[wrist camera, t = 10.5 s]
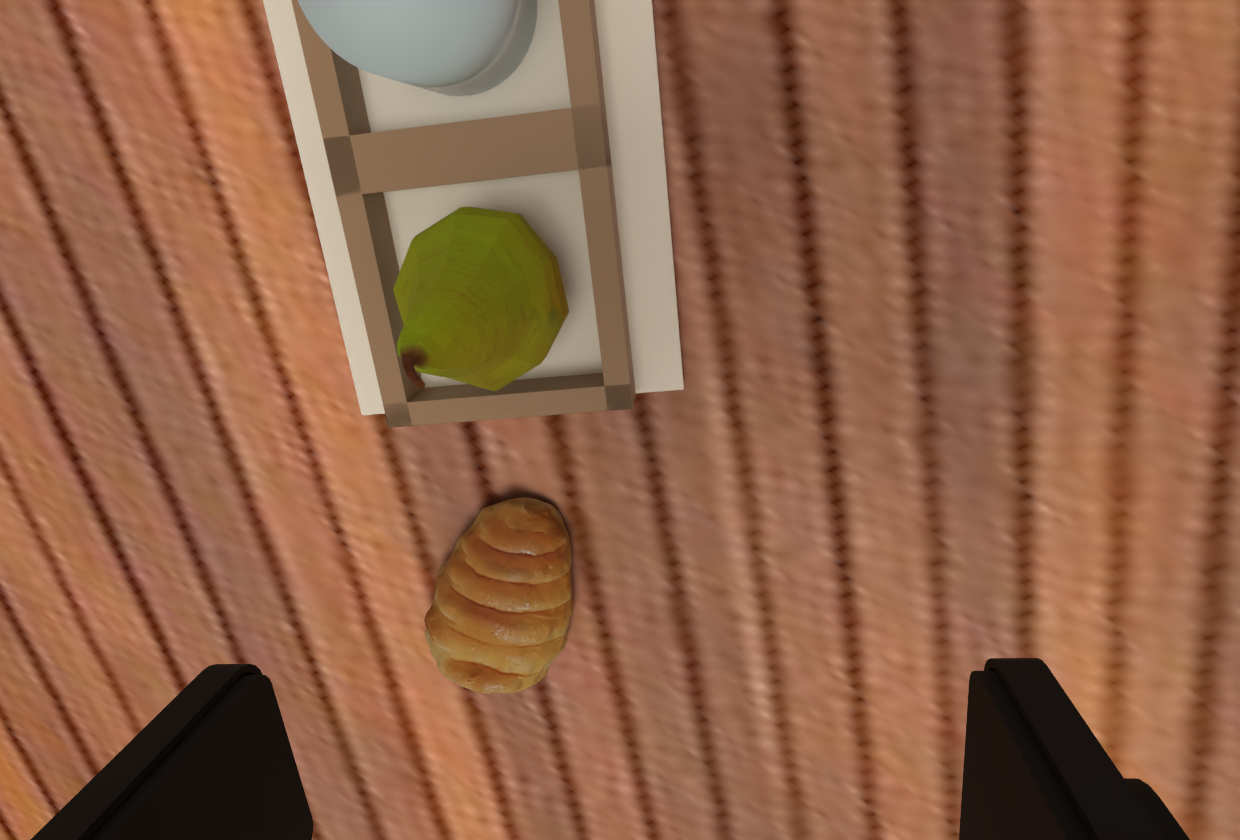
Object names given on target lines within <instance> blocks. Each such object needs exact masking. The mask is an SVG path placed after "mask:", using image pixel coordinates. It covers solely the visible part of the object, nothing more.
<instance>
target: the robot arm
mask: <svg viewBox="0 0 1240 840" xmlns="http://www.w3.org/2000/svg"><path fill="white" fill-rule="evenodd" d="M312 834H313V820H312V816H311V812H310V809H309V806H308V802H307V799H306V796H305V792H304V789H303V786H302V782H301V779H300V776H299V772H298V769H297V766H296V763H295V759H294V756H293V753H292V749H291V746H290V743H289V739H288V736H287V733H286V729H285V726H284V723H283V719H282V716H281V713H280V709H279V706H278V703H277V700H276V696H275V693H274V690H273V686H272V683H271V681H270V679H269V678H268V677H267V676H265V675H262V673H261V671H260V669H259V668H258V667H257V666H256V665H252V664H215V665H211V666H208V667H207V668H206V669H204V670H203V671H202V672H201V673H200V674H199V675H198V676H197V677H196V678H195V679H194V680H193V681H192V682H191V683H190V684H189V685H188V686H187V687H186V688H185V689H184V690H182V691H181V692H180V693H179V694H178V695H177V696H176V697H175V698H174V699H173V700H172V701H171V702H170V703H169V704H168V705H167V706H166V707H165V708H164V709H163V710H162V711H161V712H160V713H159V714H158V715H157V716H156V717H155V718H154V719H153V720H152V721H151V722H150V723H149V724H148V725H147V726H146V727H145V728H144V729H143V730H142V731H141V732H140V733H139V734H138V735H137V736H136V737H135V738H134V739H133V740H132V741H131V742H130V743H129V744H128V745H127V746H125V747H124V748H123V749H122V750H121V751H120V752H119V753H118V754H117V755H116V756H115V757H114V758H113V759H112V760H111V761H110V762H109V763H108V764H107V765H106V766H105V767H104V768H103V769H102V770H101V771H100V772H99V773H98V774H97V775H96V776H95V777H94V778H93V779H92V780H91V781H90V782H89V783H88V784H87V785H86V786H85V787H84V788H83V789H82V790H81V791H80V792H79V793H78V794H77V795H76V796H75V797H74V798H73V799H72V800H71V801H70V802H68V803H67V804H66V805H65V806H64V807H63V808H62V809H61V810H60V811H59V812H58V813H57V814H56V815H55V816H54V817H53V818H52V819H51V820H50V821H49V822H48V823H47V824H46V825H45V826H44V827H43V828H42V829H41V830H40V831H39V832H38V833H37V834H36V835H35V836H34V837H33V838H32V839H31V840H311V839H312ZM959 840H1190V839H1189V838H1188V836H1187V835H1186V834H1185V832H1184V831H1183V829H1182V828H1181V827H1180V825H1179V824H1178V822H1177V821H1176V820H1175V818H1174V817H1173V815H1172V814H1171V813H1170V811H1169V810H1168V808H1167V807H1166V806H1165V804H1164V803H1163V802H1162V800H1161V799H1160V797H1159V796H1158V795H1157V794H1156V793H1155V792H1154V791H1153V789H1152V788H1151V787H1150V786H1149V785H1148V784H1146V783H1145V782H1143V781H1141V780H1140V779H1124V778H1123V777H1122V775H1121V774H1120V772H1119V771H1118V769H1117V768H1116V766H1115V765H1114V763H1113V762H1112V761H1111V759H1110V758H1109V756H1108V755H1107V753H1106V752H1105V750H1104V749H1103V747H1102V746H1101V744H1100V743H1099V741H1098V740H1097V739H1096V737H1095V736H1094V734H1093V733H1092V731H1091V730H1090V728H1089V727H1088V725H1087V724H1086V722H1085V721H1084V719H1083V718H1082V717H1081V715H1080V714H1079V712H1078V711H1077V709H1076V708H1075V706H1074V705H1073V703H1072V702H1071V700H1070V699H1069V697H1068V696H1067V695H1066V693H1065V692H1064V690H1063V689H1062V687H1061V686H1060V684H1059V683H1058V681H1057V680H1056V678H1055V677H1054V675H1053V674H1052V673H1051V671H1050V670H1049V668H1048V667H1047V665H1046V664H1045V663H1044V662H1043V661H1042V660H1040V659H1038V658H991V659H988V660H987V662H986V664H985V668H984V671H973V672H972V673H971V675H970V680H969V694H968V710H967V725H966V741H965V756H964V771H963V787H962V802H961V818H960V833H959Z"/></svg>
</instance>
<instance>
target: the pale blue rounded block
mask: <svg viewBox="0 0 1240 840" xmlns="http://www.w3.org/2000/svg"><path fill="white" fill-rule="evenodd" d="M298 2H299V5H300V7H301V9H302V11H303V12H304V14H305V16H306V18H307V20H308V21H309V23H310V24H311V26H312V27H313V29H314V30H315V32H316V33H317V34H318V35H319V37H320V38H321V39H322V40H323V41H324V42H325V44H326V45H327V46H329V47H330V48H331V49H332V50H333V51H334V52H335V53H336V54H337V55H339V56H340V57H342V58H343V59H344V60H346V61H347V62H348V63H350V64H352V65H354V66H356V67H358V68H359V69H361V70H364V71H367V72H369V73H372V74H375V75H378V76H382V77H385V78H388V79H392V80H395V81H399V82H402V83H405V84H409V85H412V86H416V87H419V88H422V89H426V90H429V91H433V92H436V93H440V94H444V95H448V96H471V95H476V94H480V93H483V92H486V91H488V90H490V89H492V88H494V87H496V86H498V85H499V84H501V83H502V82H503V81H505V80H506V79H507V78H508V77H509V76H510V75H511V74H512V73H513V72H514V71H515V70H516V69H517V67H518V66H519V65H520V63H521V62H522V60H523V59H524V57H525V55H526V53H527V52H528V49H529V47H530V44H531V42H532V39H533V35H534V32H535V27H536V20H537V0H298Z"/></svg>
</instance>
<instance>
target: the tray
mask: <svg viewBox="0 0 1240 840" xmlns="http://www.w3.org/2000/svg"><path fill="white" fill-rule="evenodd" d="M263 2H264V6H265V11H266V15H267V19H268V23H269V27H270V32H271V36H272V40H273V44H274V48H275V53H276V57H277V61H278V65H279V69H280V74H281V78H282V82H283V86H284V90H285V95H286V99H287V103H288V107H289V111H290V116H291V120H292V124H293V128H294V132H295V137H296V141H297V145H298V149H299V153H300V158H301V162H302V166H303V170H304V174H305V179H306V183H307V187H308V191H309V195H310V200H311V204H312V208H313V212H314V216H315V221H316V225H317V229H318V233H319V237H320V242H321V246H322V250H323V254H324V259H325V263H326V267H327V271H328V275H329V280H330V284H331V288H332V292H333V296H334V301H335V305H336V309H337V313H338V317H339V322H340V326H341V330H342V334H343V338H344V343H345V347H346V351H347V355H348V359H349V364H350V368H351V372H352V376H353V380H354V385H355V389H356V393H357V397H358V401H359V406H360V410H361V414H362V415H371V414H384V413H385V416H386V420H387V424H388V428H390V427H403V426H416V425H429V424H441V423H454V422H467V421H480V420H493V419H506V418H519V417H531V416H544V415H557V414H570V413H583V412H596V411H608V410H621V409H633V404H634V399H635V394H636V393H646V392H658V391H671V390H683V389H684V383H683V369H682V357H681V345H680V333H679V321H678V309H677V296H676V284H675V272H674V260H673V248H672V236H671V224H670V211H669V199H668V187H667V175H666V163H665V151H664V138H663V126H662V114H661V102H660V90H659V78H658V65H657V53H656V41H655V29H654V17H653V5H652V0H537V20H536V27H535V32H534V35H533V39H532V42H531V44H530V47H529V49H528V52H527V53H526V55H525V57H524V59H523V60H522V62H521V63H520V65H519V66H518V67H517V69H516V70H515V71H514V72H513V73H512V74H511V75H510V76H509V77H508V78H507V79H506V80H505V81H503V82H502V83H501V84H499V85H498V86H496V87H494V88H492V89H490V90H488V91H486V92H483V93H480V94H476V95H471V96H448V95H444V94H440V93H436V92H433V91H429V90H426V89H422V88H419V87H416V86H412V85H409V84H405V83H402V82H399V81H395V80H392V79H388V78H385V77H382V76H378V75H375V74H372V73H369V72H367V71H364V70H361V69H359V68H358V67H356V66H354V65H352V64H350V63H348V62H347V61H346V60H344V59H343V58H342V57H340V56H339V55H337V54H336V53H335V52H334V51H333V50H332V49H331V48H330V47H329V46H327V45H326V44H325V42H324V41H323V40H322V39H321V38H320V37H319V35H318V34H317V33H316V32H315V30H314V29H313V27H312V26H311V24H310V23H309V21H308V20H307V18H306V16H305V14H304V12H303V11H302V9H301V7H300V5H299V2H298V0H263ZM460 207H476V208H483V209H490V210H497V211H504V212H511V213H516V214H520V215H522V216H523V218H524V219H525V220H526V221H527V222H528V224H529V225H530V226H531V227H532V228H533V230H534V231H535V232H536V233H537V235H538V236H539V237H540V238H541V239H542V241H543V242H544V243H545V244H546V245H547V247H548V248H549V249H550V250H551V251H552V253H553V254H554V255H555V256H556V257H557V260H558V265H559V269H560V273H561V278H562V282H563V286H564V291H565V295H566V299H567V303H568V308H569V313H568V315H567V317H566V319H565V321H564V323H563V325H562V327H561V329H560V331H559V333H558V335H557V337H556V339H555V341H554V343H553V345H552V347H551V348H550V350H549V352H548V354H547V356H546V358H545V359H544V360H543V362H542V363H541V364H539V365H538V366H536V367H535V368H533V369H531V370H530V371H528V372H526V373H525V374H523V375H522V376H520V377H518V378H517V379H515V380H514V381H512V382H510V383H509V384H507V385H506V386H504V387H502V388H501V389H499V390H497V391H491V390H488V389H484V388H481V387H477V386H474V385H470V384H467V383H463V382H460V381H456V380H453V379H449V378H446V377H439V376H434V375H429V374H425V373H420V372H418V371H417V370H416V369H415V371H416V373H417V375H418V376H419V377H420V378H421V379H422V380H423V381H424V383H425V387H424V388H417V387H415V386H414V385H413V384H412V382H411V381H410V380H409V378H408V377H407V376H406V373H405V371H404V369H403V365H402V359H401V358H400V357H399V356H398V351H397V342H398V339H399V336H400V333H401V331H402V329H403V326H404V324H403V321H402V318H401V314H400V311H399V308H398V304H397V301H396V298H395V294H394V291H393V288H394V285H395V283H396V280H397V277H398V275H399V272H400V270H401V267H402V264H403V262H404V259H405V256H406V254H407V251H408V249H409V246H410V243H411V241H412V239H413V238H414V237H415V236H416V235H417V234H419V233H421V232H422V231H424V230H425V229H427V228H429V227H430V226H432V225H433V224H435V223H436V222H438V221H440V220H441V219H443V218H444V217H446V216H448V215H449V214H451V213H452V212H454V211H455V210H457V209H459V208H460Z"/></svg>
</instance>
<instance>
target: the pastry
mask: <svg viewBox="0 0 1240 840" xmlns="http://www.w3.org/2000/svg"><path fill="white" fill-rule="evenodd" d="M571 562H572V557H571V543H570V537H569V534H568V531H567V529H566V527H565V524H564V521H563V518H562V516H561V514H560V513H559V512H558V511H557V510H556V509H555V507H554V506H553V505H551V504H548V503H545V502H542V501H540V500H537V499H534V498H529V497H521V498H514V499H509V500H506V501H503V502H500V503H497V504H494V505H490V506H488V507H485V508H483V509H482V510H481V512H480V513H479V515H478V516H477V518H476V519H475V520H474V523H473V524H472V526H471V527H470V528H469V529H468V530H467V531H466V532H465V533H464V534H462V535H461V537H460V538H459V540H458V542H457V543H456V545H455V547H454V550H453V553H452V554H451V556H450V558H449V559H448V560H447V561H446V562H445V563H444V564H443V565H442V566H441V567H440V569H439V570H438V572H437V579H436V582H437V584H436V591H435V595H434V600H433V604H432V606H431V608H430V610H428V612H427V614H426V616H425V625H426V630H425V636H426V640H427V642H428V644H429V645H430V649H431V653H432V655H433V657H434V659H435V660H436V662H437V665H438V669H439V671H440V672H441V673H442V674H443V675H444V677H446V678H447V679H449V680H450V681H452V682H454V683H456V684H458V685H460V686H462V687H465V688H468V689H471V690H474V691H477V692H480V693H483V694H487V693H495V692H502V693H514V692H518V691H521V690H524V689H526V688H528V687H530V686H532V685H534V684H536V683H537V682H539V681H540V680H541V679H542V678H543V677H544V676H545V675H546V674H547V671H548V669H549V666H550V665H551V663H552V662H553V661H554V660H555V659H556V658H557V657H558V656H559V654H560V652H561V651H562V649H563V648H564V646H565V644H566V641H567V631H568V627H569V621H570V618H571V615H572V611H573V596H572V577H571V571H572V566H571Z"/></svg>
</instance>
